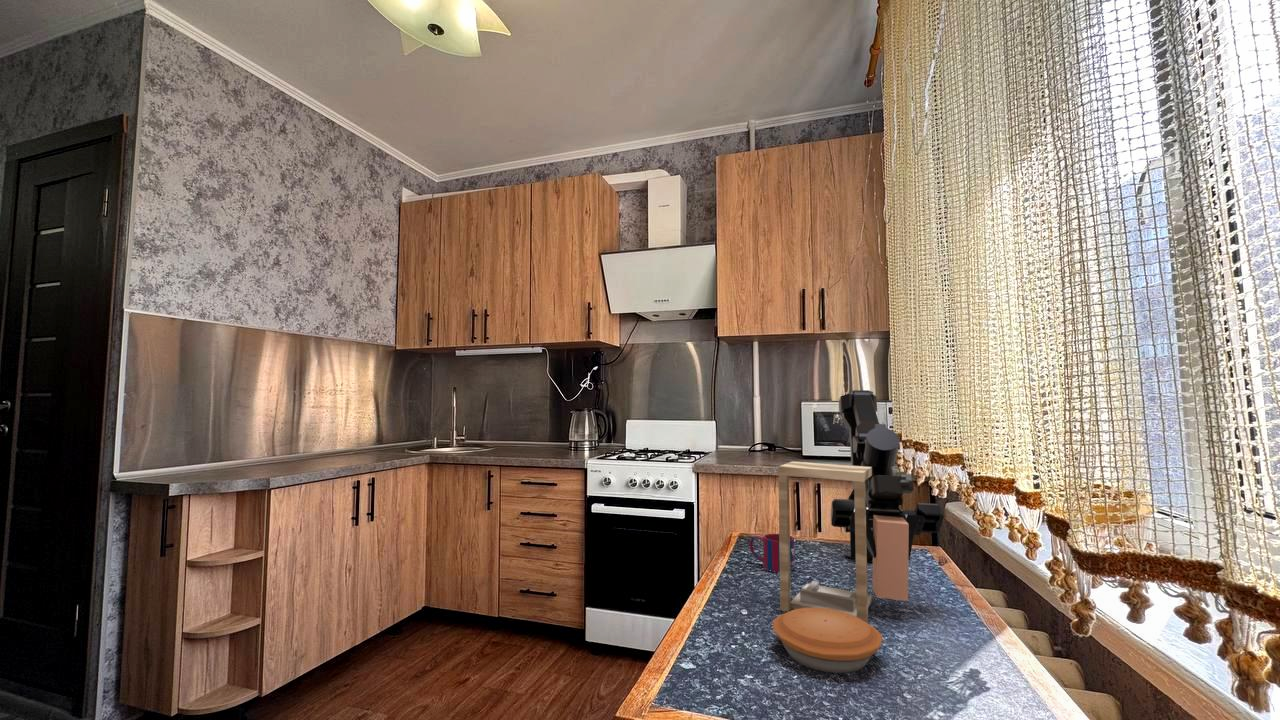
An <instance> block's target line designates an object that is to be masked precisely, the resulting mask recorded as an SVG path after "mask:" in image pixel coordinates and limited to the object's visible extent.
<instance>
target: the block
mask: <svg viewBox="0 0 1280 720" xmlns="http://www.w3.org/2000/svg"><path fill="white" fill-rule="evenodd" d="M873 539H874V543H875V547H876V558H874V557H873V562H872V590H873V592H874V594H875V597H876V598H880V599H887V600H888V599H889V600H897V601H905V602H909V560H908V552H909V524H908V523H907V522H906V520H905V519H904V518H902V517H890V516H879V515H873Z"/></svg>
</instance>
